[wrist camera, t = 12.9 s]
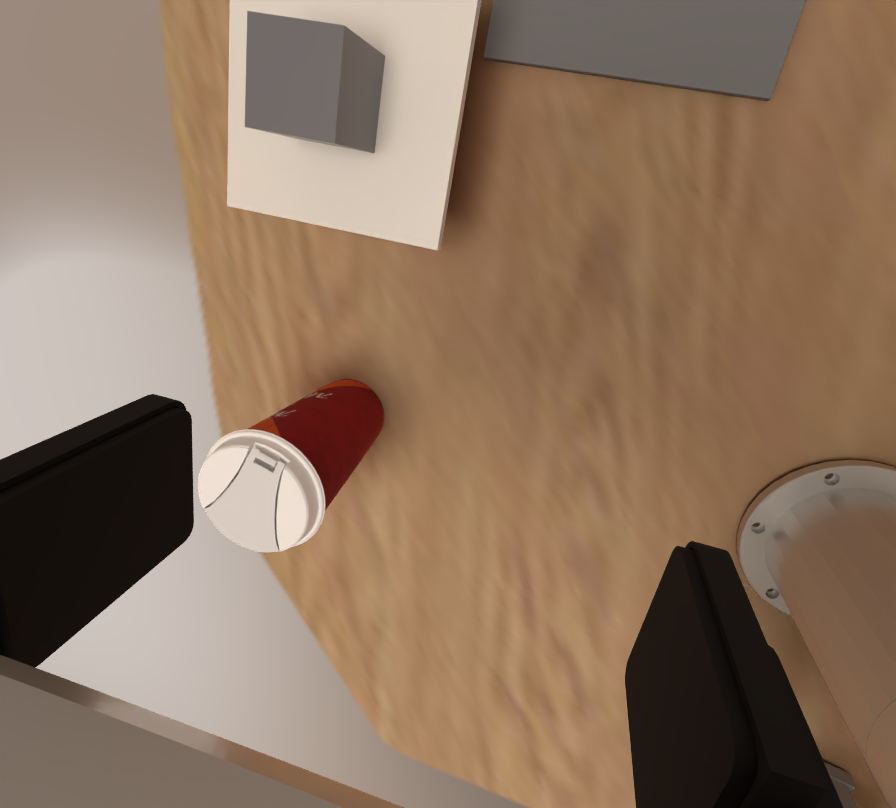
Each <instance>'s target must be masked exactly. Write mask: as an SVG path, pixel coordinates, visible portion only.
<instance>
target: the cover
mask: <svg viewBox="0 0 896 808" xmlns="http://www.w3.org/2000/svg"><path fill="white" fill-rule="evenodd" d="M481 2H482V0H230V25H229V107H228V188H227V206H231V207H235V208H240V209H245V210H249V211H254V212H259V213H264V214H268V215H273V216H278V217H282V218H287V219H292V220H297V221H301V222H306V223H311V224H315V225H320V226H325V227H329V228H334V229H339V230H344V231H348V232H353V233H358V234H362V235H367V236H372V237H377V238H381V239H386V240H391V241H395V242H400V243H405V244H410V245H414V246H419V247H424V248H428V249H433V250H440V249H441V245H442V239H443V233H444V227H445V221H446V215H447V208H448V202H449V196H450V190H451V184H452V178H453V172H454V166H455V160H456V154H457V148H458V142H459V135H460V129H461V123H462V117H463V111H464V105H465V99H466V93H467V87H468V81H469V75H470V69H471V62H472V56H473V50H474V44H475V38H476V32H477V26H478V20H479V14H480V8H481Z"/></svg>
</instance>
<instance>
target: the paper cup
mask: <svg viewBox="0 0 896 808" xmlns="http://www.w3.org/2000/svg"><path fill="white" fill-rule="evenodd" d="M383 422H384V412H383V408H382V405H381V402H380V400H379V398H378V397H377V396H376V394H375V393H374V392H373V391H372V390H371V389H370V388H369V387H367V386H366V385H364V384H362V383H360V382H358V381H354V380H339V381H336V382H333V383H331V384H329V385H327V386H325V387H323V388H321V389H319V390H317V391H315V392H313V393H312V394H310V395H308V396H306V397H304V398H302V399H301V400H299V401H297V402H295V403H293V404H292V405H290V406H288V407H286V408H284V409H283V410H281V411H279V412H277V413H275V414H274V415H272V416H270V417H268V418H266V419H265V420H263V421H261V422H259V423H258V424H256V425H254V426H252V427H250V428H249V429H243V430H238V431H234V432H231V433H229V434H227V435H225V436H223V437H222V438H220V439H219V440H218V441H217V442H216V443H215V444H214V445H213V447H212V448H211V450H210V451H209V453H208V456H207V458H206V460H205V462H204V464H203V466H202V468H201V470H200V473H199V478H198V493H199V499H200V502H201V505H202V507H203V508H204V511H205V512H206V514H207V515H208V517H209V519H210V520H211V521H212V523H213V524H214V526H215V527H216V528H217V529H218V530H219V531H220V532H221V533H222V534H223V535H224V536H225V537H227V538H228V539H230V540H231V541H233V542H234V543H236V544H238V545H240V546H242V547H244V548H247V549H249V550H252V551H257V552H279V551H284V550H286V549H288V548H290V547H293V546H297V545H300V544H302V543H304V542H306V541H307V540H308V539H310V538H311V537H312V536H313V535H314V534H315V533H316V532H317V530H318V529H319V527H320V525H321V523H322V521H323V518H324V514H325V510H326V509H327V507H328V506H329V504H330V503H331V502H332V500H333V499H334V497H335V496H336V495H337V493H338V492H339V490H340V489H341V488H342V486H343V485H344V484H345V482H346V481H347V479H348V478H349V477H350V475H351V474H352V472H353V471H354V469H355V468H356V467H357V465H358V464H359V462H360V461H361V460H362V458H363V457H364V455H365V454H366V452H367V451H368V450H369V448H370V447H371V445H372V444H373V442H374V441H375V439H376V438H377V436H378V435H379V433H380V431H381V429H382V426H383Z"/></svg>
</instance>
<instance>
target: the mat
mask: <svg viewBox="0 0 896 808" xmlns="http://www.w3.org/2000/svg"><path fill="white" fill-rule="evenodd" d="M805 1H806V0H493V3H492V9H491V15H490V21H489V27H488V33H487V39H486V45H485V51H484V58H485V60H492V61H499V62H505V63H512V64H519V65H526V66H533V67H540V68H546V69H553V70H560V71H567V72H574V73H581V74H588V75H594V76H601V77H608V78H615V79H622V80H629V81H635V82H642V83H649V84H656V85H663V86H670V87H676V88H683V89H690V90H697V91H704V92H711V93H718V94H724V95H731V96H738V97H745V98H752V99H759V100H765V101H768V100H770V99H771V97H772V94H773V92H774V89H775V86H776V83H777V80H778V77H779V75H780V72H781V69H782V66H783V63H784V61H785V58H786V55H787V52H788V49H789V46H790V44H791V41H792V38H793V35H794V32H795V30H796V27H797V24H798V21H799V18H800V15H801V13H802V10H803V7H804V4H805Z"/></svg>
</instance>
